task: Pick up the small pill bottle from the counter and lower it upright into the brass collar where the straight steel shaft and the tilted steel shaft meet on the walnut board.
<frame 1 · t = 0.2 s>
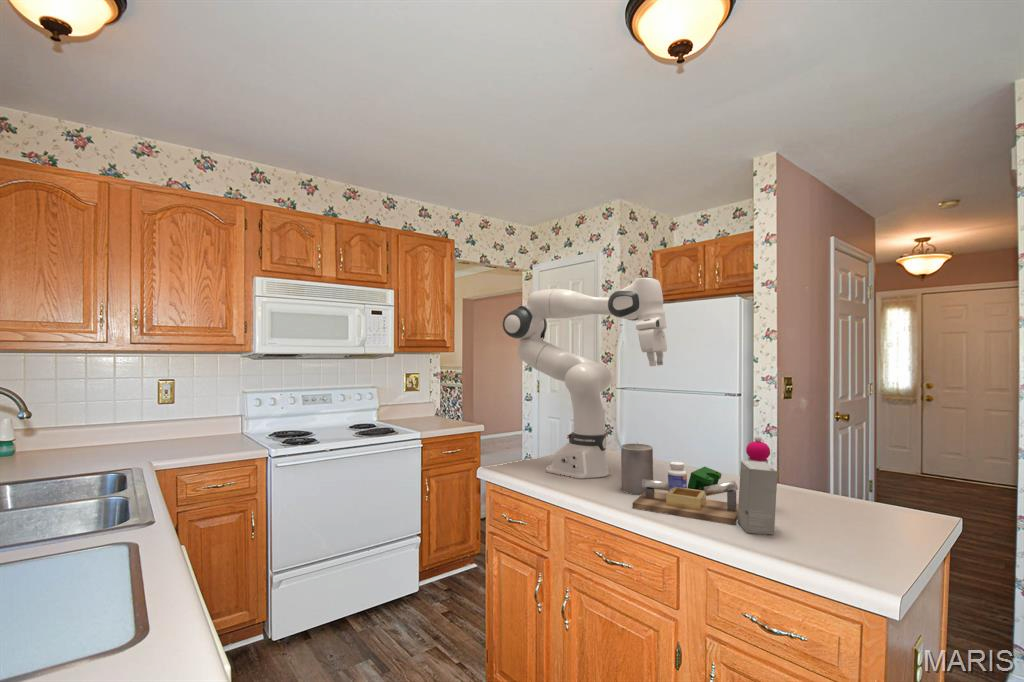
hand: (656, 365, 165), 39 cm above the worktop, tool pointing down, fingers open, 8 cm apart
pill bottle: (677, 496, 150), on the worktop
skincare box: (757, 529, 122), on the worktop
clamp: (705, 489, 157), on the worktop
pillar candle: (637, 491, 155), on the worktop
pepper mill: (758, 509, 138), on the worktop
shaft stand: (686, 508, 137), on the worktop
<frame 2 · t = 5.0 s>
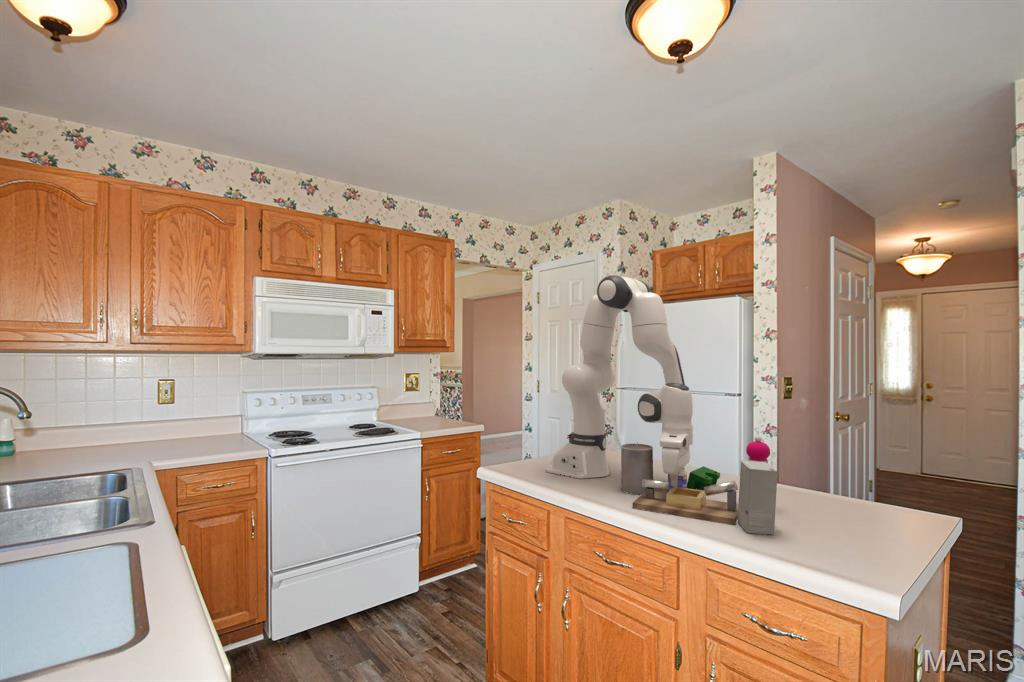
hand: (677, 483, 150), 4 cm above the worktop, tool pointing down, fingers closed on pill bottle, 5 cm apart
pill bottle: (677, 496, 150), on the worktop, touching gripper
everything else where it was.
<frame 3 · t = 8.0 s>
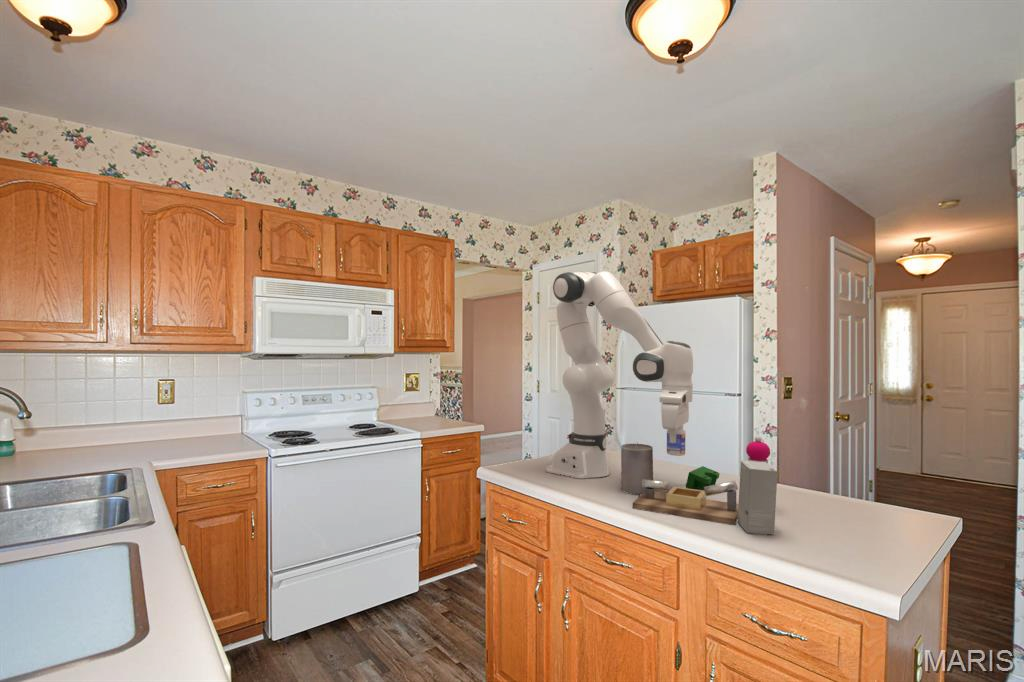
hand: (675, 440, 151), 16 cm above the worktop, tool pointing down, fingers closed on pill bottle, 5 cm apart
pill bottle: (675, 454, 151), point 12 cm above the worktop, touching gripper
everything else where it was.
when the fingers open (7 cm above the worktop, at t = 13.2 s): pill bottle stays where it is, resting on shaft stand.
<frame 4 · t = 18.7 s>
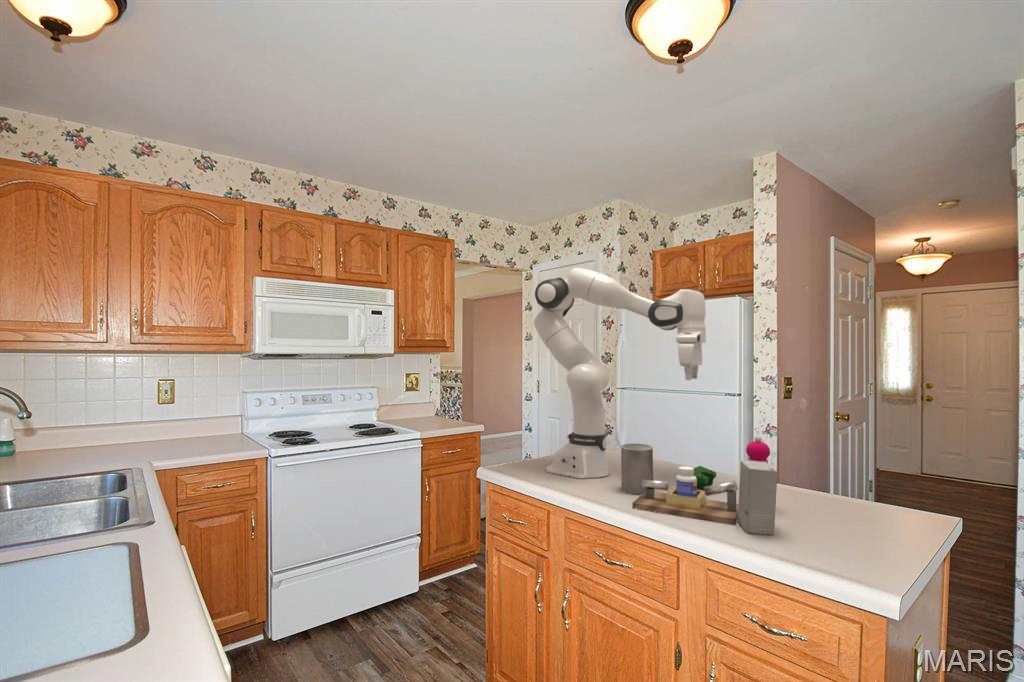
hand: (691, 379, 165), 34 cm above the worktop, tool pointing down, fingers open, 8 cm apart
pill bottle: (686, 504, 137), point 1 cm above the worktop, touching shaft stand
at the end: pill bottle 0.1 cm off-centre on the shaft stand, point 1.3 cm above the shaft stand's base; pill bottle tilted 0°; the gripper is holding nothing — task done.
